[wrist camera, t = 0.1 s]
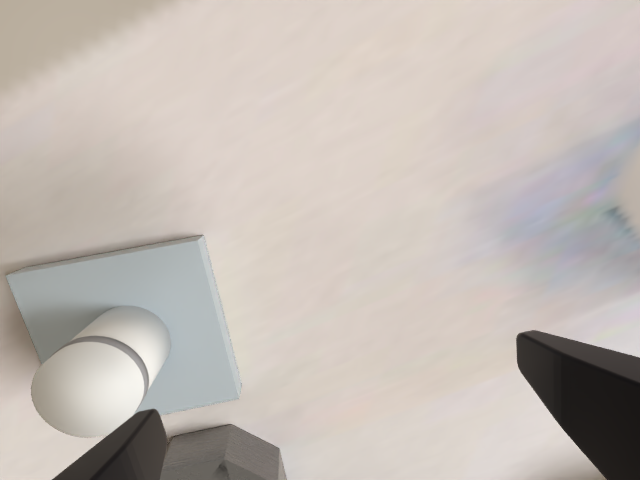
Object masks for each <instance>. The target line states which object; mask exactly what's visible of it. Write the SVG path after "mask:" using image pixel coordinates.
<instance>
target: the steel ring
mask: <svg viewBox="0 0 640 480" xmlns="http://www.w3.org/2000/svg"><path fill="white" fill-rule="evenodd" d="M160 480H287V479H286V475H285V471H284V466H283V462H282V458H281V454H280V450H279V448H277V447H275V446H273V445H271V444H269V443H267V442H265V441H263V440H261V439H259V438H258V437H256V436H254V435H252V434H250V433H248V432H246V431H244V430H242V429H240V428H238V427H236V426H234V425H232V424H230V425H225V426H221V427H216V428H211V429H206V430H202V431H197V432H192V433H187V434H183V435H178V436H174V437H173V438H172V440H171V441H170V443H169V444H168V446H167V450H166V454H165V459H164V463H163V468H162V473H161V477H160Z"/></svg>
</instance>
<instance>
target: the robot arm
mask: <svg viewBox="0 0 640 480" xmlns="http://www.w3.org/2000/svg"><path fill="white" fill-rule="evenodd" d="M516 344H517V364H518V367H519V369H520V371H521V373H522V374H523V376H524V377H525V379H526V380H527V381H528V383H529V384H530V385H531V387H532V388H533V390H534V391H535V392H536V394H537V395H538V396H539V398H540V399H541V401H542V402H543V403H544V405H545V406H546V407H547V409H548V410H549V412H550V413H551V414H552V416H553V417H554V418H555V420H556V421H557V422H558V424H559V425H560V426H561V427H562V429H563V430H564V431H565V432H566V433H567V434H568V436H569V437H570V438H571V439H572V440H573V441H574V443H575V444H576V445H577V446H578V447H579V448H580V449H581V451H582V452H583V453H584V454H585V455H586V456H587V457H588V459H589V460H590V461H591V462H592V463H593V464H594V465H595V467H596V468H597V469H598V470H599V471H600V472H601V473H602V475H603V476H604V477H605V478H606V479H607V480H640V358H639V357H636V356H632V355H628V354H624V353H620V352H616V351H613V350H609V349H605V348H601V347H597V346H593V345H590V344H586V343H582V342H578V341H574V340H570V339H567V338H563V337H559V336H555V335H551V334H548V333H544V332H540V331H536V330H532V331H527V332H522V333H519V334H518V335H517V338H516ZM166 450H167V436H166V432H165V429H164V426H163V423H162V420H161V417H160V414H159V412H158V411H157V410H156V409H148V410H143V411H139V412H137V413H135V414H134V415H133V416H132V417H130V418H129V419H128V420H127V421H125V422H124V423H123V424H122V425H120V426H119V427H118V428H117V429H115V430H114V431H113V432H112V433H110V434H109V435H108V436H106V437H105V438H104V439H103V440H101V441H100V442H99V443H98V444H96V445H95V446H94V447H93V448H91V449H90V450H89V451H88V452H86V453H85V454H84V455H83V456H81V457H80V458H79V459H78V460H76V461H75V462H74V463H72V464H71V465H70V466H69V467H67V468H66V469H65V470H64V471H62V472H61V473H60V474H59V475H57V476H56V477H55V478H54V479H52V480H160V477H161V473H162V468H163V463H164V459H165V454H166Z"/></svg>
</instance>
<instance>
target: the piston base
mask: <svg viewBox="0 0 640 480" xmlns="http://www.w3.org/2000/svg"><path fill="white" fill-rule="evenodd" d="M6 278H7V281H8V283H9V286H10V288H11V291H12V293H13V296H14V298H15V300H16V303H17V305H18V308H19V310H20V313H21V315H22V317H23V320H24V322H25V325H26V327H27V330H28V332H29V335H30V337H31V339H32V342H33V344H34V347H35V349H36V352H37V354H38V356H39V359H40V361H41V364H42V365H41V366H40V368H39V369H38V370H37V372H36V374H35V376H34V378H33V381H32V386H31V396H32V401H33V403H34V406H35V408H36V410H37V412H38V413H39V414H40V416H41V417H42V418H43V419H44V420H45V421H46V422H47V423H48V424H49V425H51V426H52V427H54V428H55V429H57V430H59V431H61V432H63V433H66V434H68V435H72V436H77V437H85V438H92V437H101V436H105V435H108V434H110V433H112V432H113V431H114V430H115V429H117V428H118V427H119V426H120V425H122V424H123V423H124V422H125V421H127V420H128V419H129V418H130V417H132V416H133V415H134V414H135V413H137V412H139V411H143V410H148V409H156V410H157V411H158V412H159V414H160V415H164V414H169V413H174V412H179V411H183V410H188V409H193V408H198V407H203V406H208V405H212V404H217V403H222V402H227V401H232V400H236V399H239V397H240V392H241V387H242V383H241V379H240V375H239V372H238V368H237V364H236V360H235V356H234V352H233V348H232V344H231V340H230V336H229V333H228V329H227V325H226V321H225V317H224V313H223V309H222V305H221V301H220V297H219V294H218V290H217V286H216V282H215V278H214V274H213V270H212V266H211V262H210V258H209V255H208V251H207V247H206V243H205V239H204V235H201V236H195V237H190V238H184V239H179V240H173V241H168V242H162V243H157V244H152V245H146V246H141V247H135V248H130V249H124V250H119V251H113V252H108V253H102V254H97V255H91V256H86V257H80V258H75V259H69V260H64V261H58V262H53V263H47V264H42V265H37V266H31V267H26V268H23V269H20V270H18V271H15V272H13V273H11V274H8V275H6Z"/></svg>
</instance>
